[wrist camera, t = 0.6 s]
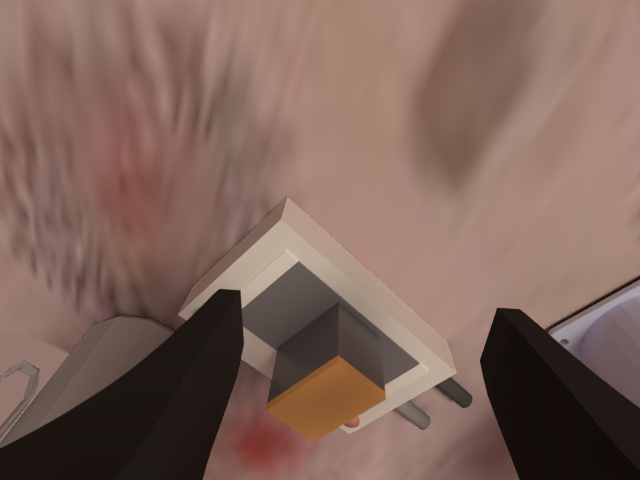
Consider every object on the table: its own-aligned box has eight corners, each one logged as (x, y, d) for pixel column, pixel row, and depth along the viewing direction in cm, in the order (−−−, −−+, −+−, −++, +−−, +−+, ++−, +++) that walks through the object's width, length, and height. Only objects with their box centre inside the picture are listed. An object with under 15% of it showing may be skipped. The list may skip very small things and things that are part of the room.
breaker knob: (379, 336, 21) (385, 399, 18) (317, 377, 23) (313, 442, 19) (338, 302, 20) (337, 362, 17) (277, 347, 22) (265, 410, 18)
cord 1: (428, 412, 28) (431, 425, 27) (417, 419, 28) (419, 432, 27) (380, 374, 26) (381, 386, 25) (368, 381, 27) (369, 394, 26)
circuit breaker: (446, 340, 24) (457, 375, 22) (348, 400, 28) (349, 436, 25) (287, 196, 20) (280, 221, 18) (192, 285, 23) (176, 316, 21)
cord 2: (469, 390, 26) (474, 403, 26) (457, 397, 27) (460, 410, 26) (421, 348, 25) (424, 360, 24) (408, 356, 25) (410, 369, 24)
